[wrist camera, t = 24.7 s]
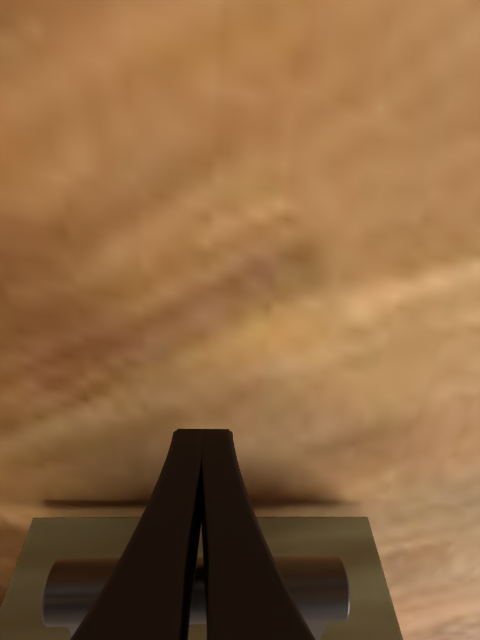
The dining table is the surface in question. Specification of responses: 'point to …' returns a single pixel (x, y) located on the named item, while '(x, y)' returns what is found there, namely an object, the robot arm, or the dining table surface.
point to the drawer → (202, 576)
